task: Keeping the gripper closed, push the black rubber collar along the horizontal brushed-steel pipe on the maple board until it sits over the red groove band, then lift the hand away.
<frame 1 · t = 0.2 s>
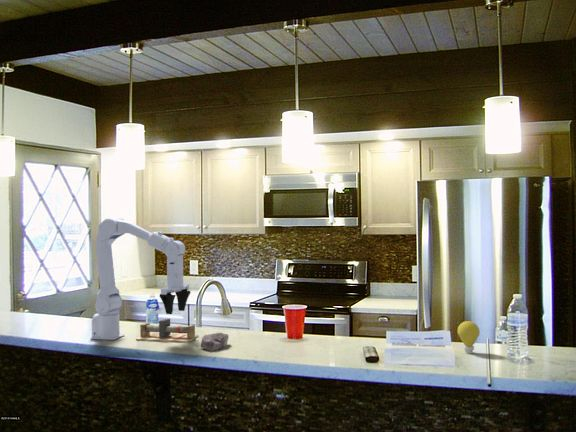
hand: (175, 312, 208), 10 cm above the worktop, fingers open, 7 cm apart
collar: (164, 327, 211), point 4 cm above the worktop, slide at 0.0 cm
rock: (214, 348, 196), on the worktop
pipe rig: (167, 338, 211), on the worktop
light bulb: (468, 353, 183), on the worktop
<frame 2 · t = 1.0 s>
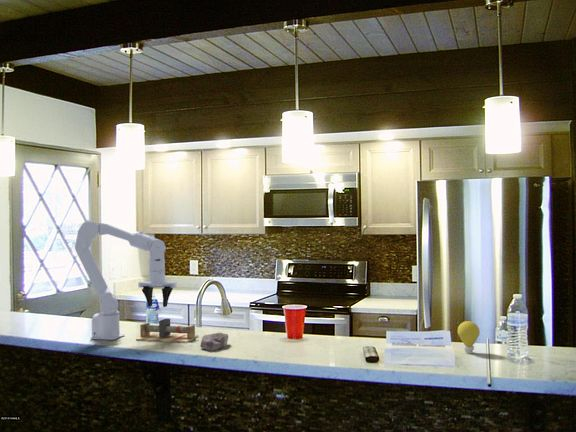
hand: (157, 306, 220), 10 cm above the worktop, fingers open, 5 cm apart
nothing on the worktop moved.
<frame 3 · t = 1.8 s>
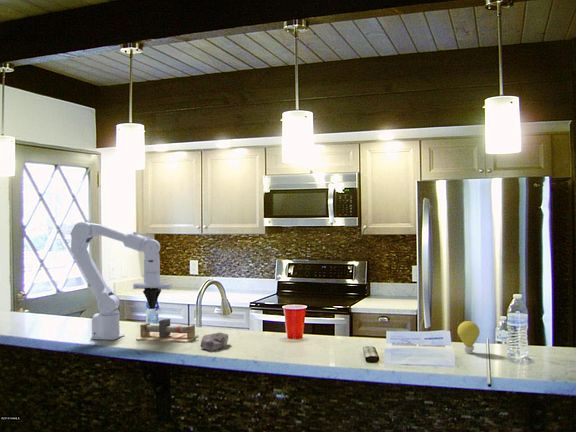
hand: (152, 308, 215), 10 cm above the worktop, fingers closed
nothing on the worktop moved.
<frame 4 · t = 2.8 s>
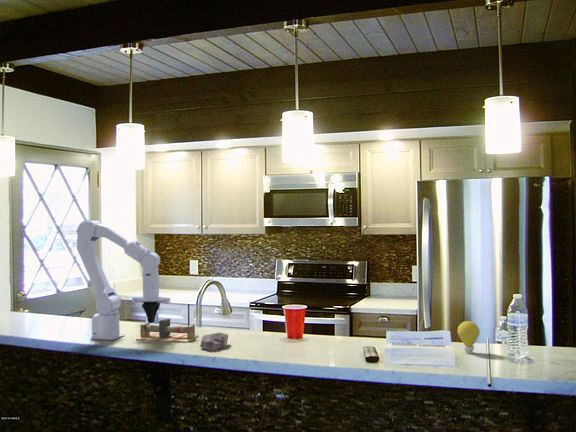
hand: (151, 322, 213), 6 cm above the worktop, fingers closed
nothing on the worktop moved.
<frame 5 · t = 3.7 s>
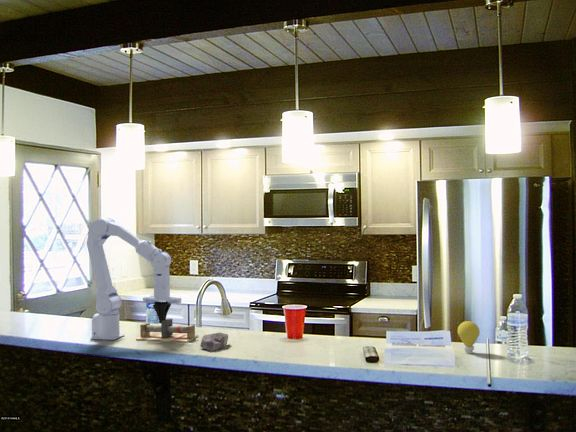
hand: (162, 322, 211), 6 cm above the worktop, fingers closed
collar: (167, 328, 211), point 4 cm above the worktop, slide at 0.9 cm, touching gripper
everything else where it was.
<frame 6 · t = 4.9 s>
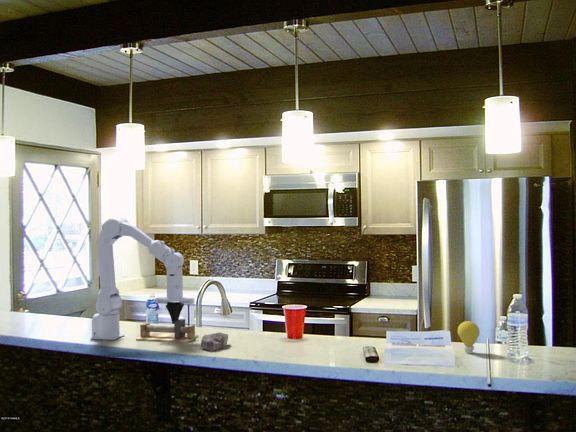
hand: (175, 323, 210), 6 cm above the worktop, fingers closed
collar: (179, 328, 209), point 4 cm above the worktop, slide at 6.0 cm, touching gripper
everything else where it was.
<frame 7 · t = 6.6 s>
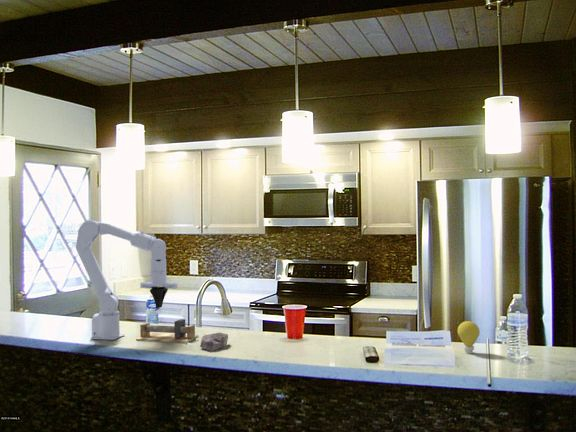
hand: (159, 307, 217), 10 cm above the worktop, fingers closed
collar: (180, 328, 209), point 4 cm above the worktop, slide at 6.1 cm
everything else where it was.
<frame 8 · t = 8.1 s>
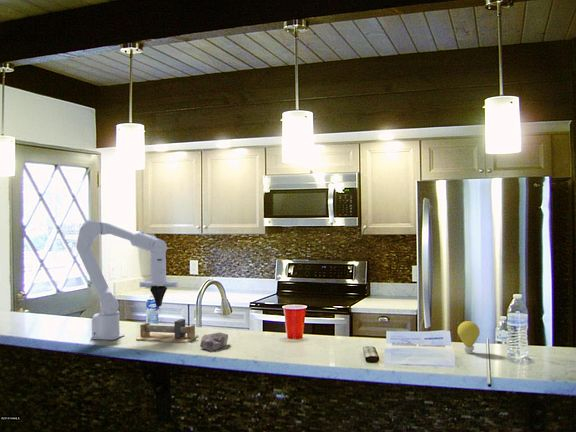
hand: (158, 306, 220), 10 cm above the worktop, fingers closed
nothing on the worktop moved.
at the end: collar slide at 6.1 cm; the gripper is holding nothing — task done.
